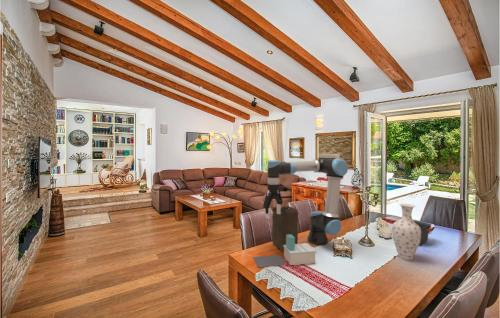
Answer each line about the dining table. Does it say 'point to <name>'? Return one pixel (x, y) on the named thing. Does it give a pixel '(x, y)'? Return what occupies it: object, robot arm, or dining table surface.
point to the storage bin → (424, 231)
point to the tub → (299, 258)
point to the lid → (297, 246)
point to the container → (284, 226)
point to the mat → (269, 261)
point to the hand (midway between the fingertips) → (273, 216)
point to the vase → (406, 234)
